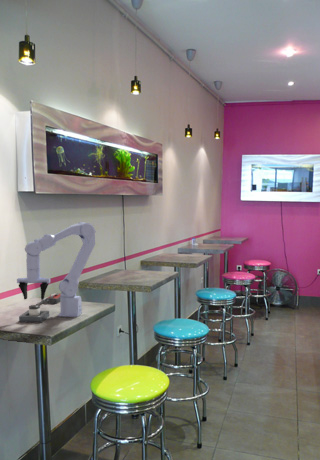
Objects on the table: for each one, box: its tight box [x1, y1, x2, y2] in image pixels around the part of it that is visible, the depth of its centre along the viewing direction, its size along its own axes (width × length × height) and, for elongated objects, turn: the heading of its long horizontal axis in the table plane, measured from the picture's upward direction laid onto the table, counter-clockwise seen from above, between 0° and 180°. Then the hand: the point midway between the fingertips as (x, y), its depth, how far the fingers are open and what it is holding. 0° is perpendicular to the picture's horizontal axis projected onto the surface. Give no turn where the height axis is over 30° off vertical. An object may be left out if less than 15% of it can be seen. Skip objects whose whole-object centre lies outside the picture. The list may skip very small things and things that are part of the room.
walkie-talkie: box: [35, 292, 61, 306], centre depth 219 cm, size 9×4×20 cm
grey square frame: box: [18, 309, 50, 324], centre depth 190 cm, size 10×10×2 cm
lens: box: [28, 304, 41, 316], centre depth 189 cm, size 5×5×6 cm
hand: (34, 298), depth 189 cm, fingers open, 7 cm apart
